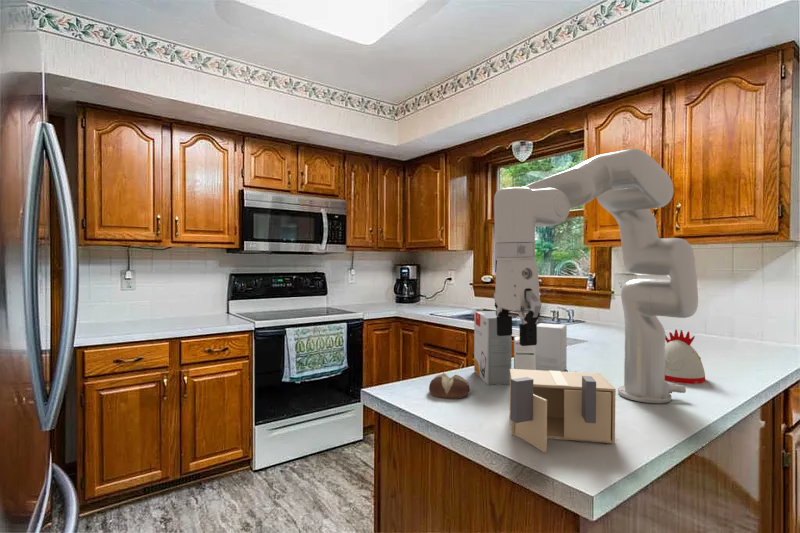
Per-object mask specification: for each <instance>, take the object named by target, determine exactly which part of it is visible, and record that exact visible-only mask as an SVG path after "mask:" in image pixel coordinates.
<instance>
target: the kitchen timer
mask: <svg viewBox="0 0 800 533" xmlns="http://www.w3.org/2000/svg"><path fill="white" fill-rule="evenodd" d="M690 335H691V334H690V331H687V332H686V335H685V336H684V332H683V330H682V329H681V330H680V332H678V329H675V330H674V334H673V333H672V332H671V331H670V332H669V337H670V338H668V337H667V335H666V334H665V342H666V343H665V381H666V382H670V383H671V382H672V383H675V384H676V383H677V384H687V385H699V384H703V383H705V382H706V373H705V372H706V371H705V368H704V364H703V362H702V360H701V359H702V358H701V357H700V355H699V353H698V352H697V350H695V348H694V347H693V346H692V343H693V341H694V340H695V335H694V336H692V337H691V336H690Z"/></svg>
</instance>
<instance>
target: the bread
mask: <svg viewBox="0 0 800 533" xmlns="http://www.w3.org/2000/svg"><path fill="white" fill-rule="evenodd" d="M428 391H429V393H430V395H431V396H433V397H434V398H438V399H459V400H460V399H462V398H464V397H467V396H468V395H469V394H470V391H471V388H470V384H469V382H468V381H467V380H466V379H465V377H463V376H461V375H458V374H454V375H452V376H451V377H449V375H447V374H446V373H445V372H442V373H441V374H437V375H436V376H435V377H434V378H433V379H431V381H430V382H429V386H428Z"/></svg>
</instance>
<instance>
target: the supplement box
mask: <svg viewBox="0 0 800 533" xmlns="http://www.w3.org/2000/svg"><path fill="white" fill-rule="evenodd" d="M567 327H568V326H567V324H560V323H559V324H557V323H544V322H543V323H542V322H540V323H539V322H538V324H537V344H536V345H535V355H536V370H543V371H549V370H551V371H562V372H566V370H567V369H568V368H567V362H568V361H567V359H568V358H567V350H568V349H567V340H568V338H567V337H568V336H567V333H568V332H567V330H568V329H567Z"/></svg>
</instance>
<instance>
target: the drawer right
mask: <svg viewBox="0 0 800 533" xmlns="http://www.w3.org/2000/svg"><path fill="white" fill-rule="evenodd" d="M564 438H568V439H581V440H593V441H605V442H611V392H599V391H596V381H595V380H594V379H593V377H592V376H582V390H566V389H564Z"/></svg>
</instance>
